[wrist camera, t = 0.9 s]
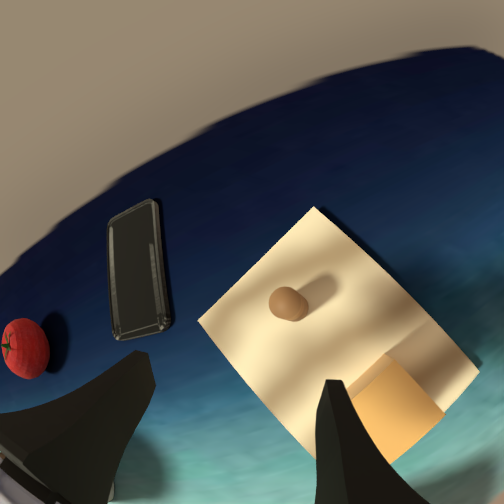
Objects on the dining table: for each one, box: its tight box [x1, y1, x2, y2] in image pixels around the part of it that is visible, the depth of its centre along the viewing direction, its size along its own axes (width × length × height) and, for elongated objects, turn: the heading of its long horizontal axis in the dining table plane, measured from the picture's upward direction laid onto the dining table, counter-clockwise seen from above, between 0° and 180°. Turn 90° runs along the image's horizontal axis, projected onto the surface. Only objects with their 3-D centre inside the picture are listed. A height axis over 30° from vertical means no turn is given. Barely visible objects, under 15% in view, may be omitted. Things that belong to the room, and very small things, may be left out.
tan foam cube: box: [346, 354, 446, 464], centre depth 15 cm, size 5×5×6 cm
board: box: [198, 207, 480, 459], centre depth 19 cm, size 20×14×4 cm
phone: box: [107, 199, 171, 341], centre depth 30 cm, size 8×1×15 cm
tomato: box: [1, 318, 50, 379], centre depth 29 cm, size 9×9×8 cm
